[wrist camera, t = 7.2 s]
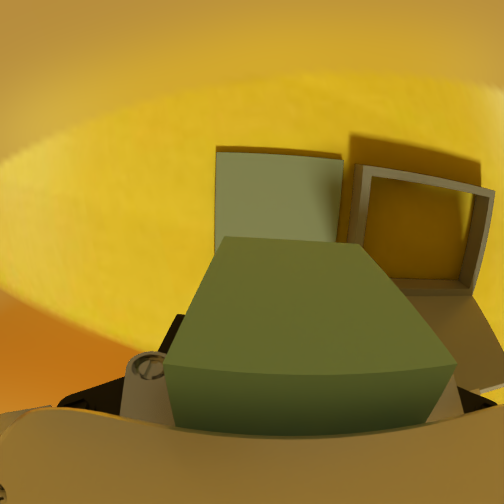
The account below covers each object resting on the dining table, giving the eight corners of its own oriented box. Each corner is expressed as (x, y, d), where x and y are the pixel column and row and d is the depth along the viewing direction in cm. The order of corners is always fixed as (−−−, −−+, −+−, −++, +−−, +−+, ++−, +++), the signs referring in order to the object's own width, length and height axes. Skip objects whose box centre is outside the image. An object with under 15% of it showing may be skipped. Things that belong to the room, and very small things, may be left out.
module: (359, 243, 11) (457, 363, 4) (333, 368, 13) (363, 502, 6) (224, 236, 11) (162, 363, 4) (224, 364, 13) (197, 503, 6)
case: (481, 187, 24) (495, 190, 22) (461, 286, 28) (472, 295, 25) (354, 163, 24) (363, 165, 22) (340, 283, 28) (346, 295, 26)
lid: (520, 381, 15) (511, 391, 16) (473, 292, 25) (467, 303, 26) (374, 414, 16) (366, 424, 16) (347, 291, 26) (343, 304, 27)
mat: (342, 160, 24) (343, 160, 24) (328, 284, 28) (329, 287, 28) (217, 152, 25) (216, 152, 24) (216, 278, 29) (215, 281, 28)
